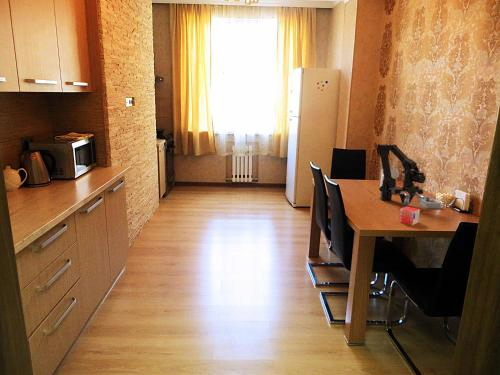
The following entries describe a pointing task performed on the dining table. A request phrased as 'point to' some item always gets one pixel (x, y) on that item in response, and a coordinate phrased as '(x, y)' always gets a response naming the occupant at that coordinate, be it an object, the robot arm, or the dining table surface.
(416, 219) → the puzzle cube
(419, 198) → the pin mount
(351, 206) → the dining table surface
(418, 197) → the lock pin
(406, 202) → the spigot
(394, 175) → the chalice
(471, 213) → the dining table surface
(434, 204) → the socket
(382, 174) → the supplement box
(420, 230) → the dining table surface
